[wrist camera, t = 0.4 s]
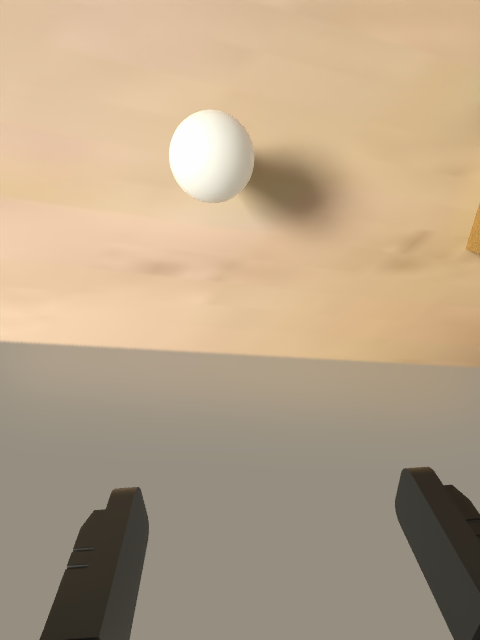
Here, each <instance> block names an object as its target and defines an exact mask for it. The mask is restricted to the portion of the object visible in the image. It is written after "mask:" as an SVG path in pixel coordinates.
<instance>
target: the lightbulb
mask: <svg viewBox="0 0 480 640" xmlns="http://www.w3.org/2000/svg"><path fill="white" fill-rule="evenodd" d="M169 158H170V166H171V169H172V173H173V175H174V177H175V179H176V181H177V183H178V184H179V185H180V187H181V188H182V189H183V190H184V191H185V192H186V193H187V194H188V195H190V196H191V197H193V198H194V199H197V200H199V201H202V202H207V203H220V202H224V201H227V200H230V199H232V198H234V197H235V196H236V195H238V194H239V193H240V192H241V191H242V190H243V189H244V188H245V187H246V185H247V183H248V182H249V180H250V178H251V175H252V172H253V168H254V148H253V144H252V141H251V138H250V136H249V134H248V132H247V131H246V129H245V127H244V126H243V125H242V124H241V123H240V122H239V121H238V120H237V119H235V118H234V117H233V116H231V115H229V114H227V113H225V112H223V111H218V110H203V111H199V112H196V113H194V114H192V115H190V116H188V117H187V118H186V119H185V120H184V121H182V123H181V124H180V125H179V126H178V128H177V129H176V131H175V133H174V135H173V137H172V140H171V144H170V151H169Z"/></svg>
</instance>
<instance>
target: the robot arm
mask: <svg viewBox="0 0 480 640" xmlns="http://www.w3.org/2000/svg"><path fill="white" fill-rule="evenodd" d="M395 509H396V514H397V518H398V521H399V523H400V525H401V528H402V529H403V532H404V534H405V536H406V538H407V540H408V542H409V545H410V547H411V548H412V551H413V553H414V555H415V557H416V559H417V562H418V564H419V566H420V568H421V570H422V572H423V574H424V577H425V579H426V581H427V583H428V585H429V587H430V589H431V591H432V594H433V596H434V598H435V600H436V602H437V604H438V606H439V608H440V611H441V613H442V615H443V617H444V619H445V621H446V623H447V626H448V628H449V630H450V632H451V634H452V636H453V638H454V640H480V514H479V513H478V511H477V510H476V508H475V507H474V506H473V504H472V503H471V501H470V500H469V499H468V498H467V497H466V496H464V495H463V494H462V493H461V492H460V491H458V490H457V489H456V488H455V487H454V486H453V485H443V484H442V482H441V481H440V479H439V478H438V476H437V475H436V474H435V472H434V471H433V470H432V469H431V468H430V467H420V468H405V469H403V470H402V472H401V476H400V481H399V485H398V490H397V495H396V499H395ZM148 534H149V522H148V516H147V512H146V508H145V504H144V500H143V496H142V492H141V489H140V488H139V487H132V488H119V489H114V490H113V491H112V493H111V495H110V498H109V501H108V504H107V508H106V509H105V510H94V511H93V513H92V514H91V515H90V517H89V518H88V519H87V520H86V522H85V523H84V524H83V526H82V527H81V529H80V531H79V534H78V537H77V540H76V542H75V545H74V548H73V552H72V554H71V556H70V559H69V562H68V564H67V569H66V570H65V572H64V575H63V578H62V580H61V583H60V586H59V589H58V592H57V594H56V597H55V600H54V603H53V605H52V608H51V610H50V613H49V616H48V619H47V621H46V624H45V627H44V630H43V632H42V635H41V637H40V640H129V639H130V633H131V628H132V623H133V617H134V611H135V606H136V600H137V596H138V590H139V585H140V580H141V574H142V569H143V564H144V558H145V552H146V547H147V541H148Z"/></svg>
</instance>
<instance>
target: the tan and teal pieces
mask: <svg viewBox="0 0 480 640" xmlns="http://www.w3.org/2000/svg"><path fill="white" fill-rule="evenodd" d="M466 249H468V250H470V251H472V252H475V253H477V254H480V205H479V208H478V211H477V215H476V218H475V221H474V224H473V228H472V231H471V234H470V237H469V241H468V244H467V247H466Z"/></svg>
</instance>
